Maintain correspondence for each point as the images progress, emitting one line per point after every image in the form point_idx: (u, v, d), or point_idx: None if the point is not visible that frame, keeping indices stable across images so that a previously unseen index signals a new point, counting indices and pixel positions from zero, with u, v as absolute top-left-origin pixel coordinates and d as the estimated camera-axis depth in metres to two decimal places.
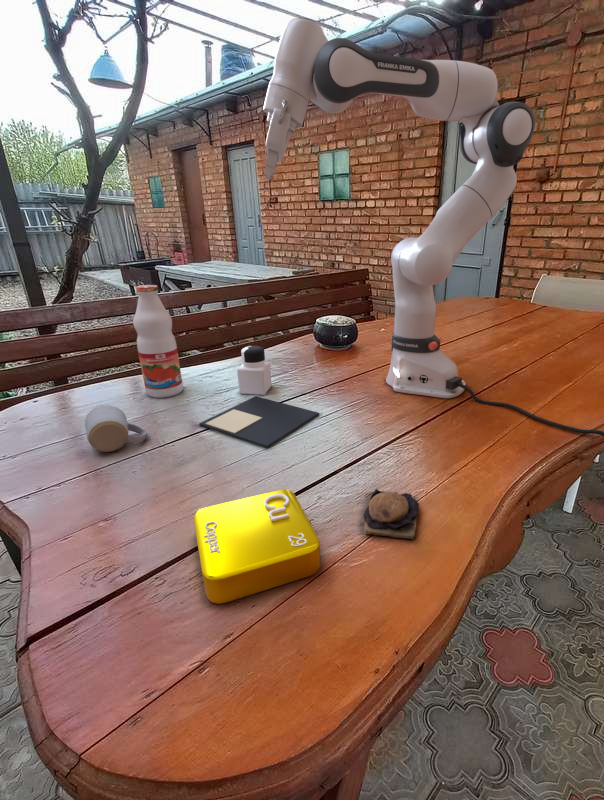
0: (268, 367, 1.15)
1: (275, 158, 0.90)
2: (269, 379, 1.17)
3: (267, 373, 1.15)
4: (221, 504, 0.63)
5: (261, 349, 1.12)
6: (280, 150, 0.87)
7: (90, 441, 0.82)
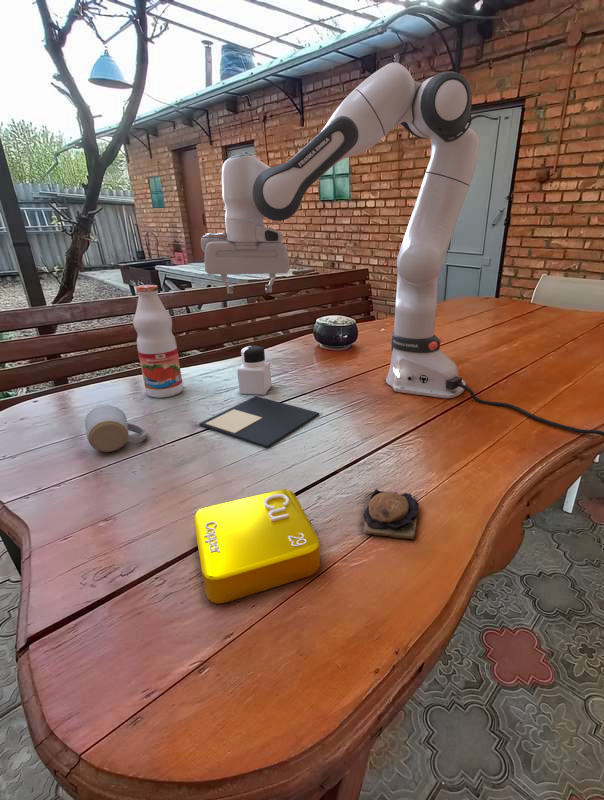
0: (268, 367, 1.15)
1: None
2: (269, 379, 1.17)
3: (267, 373, 1.15)
4: (221, 504, 0.63)
5: (261, 349, 1.12)
6: (208, 273, 1.01)
7: (90, 441, 0.82)
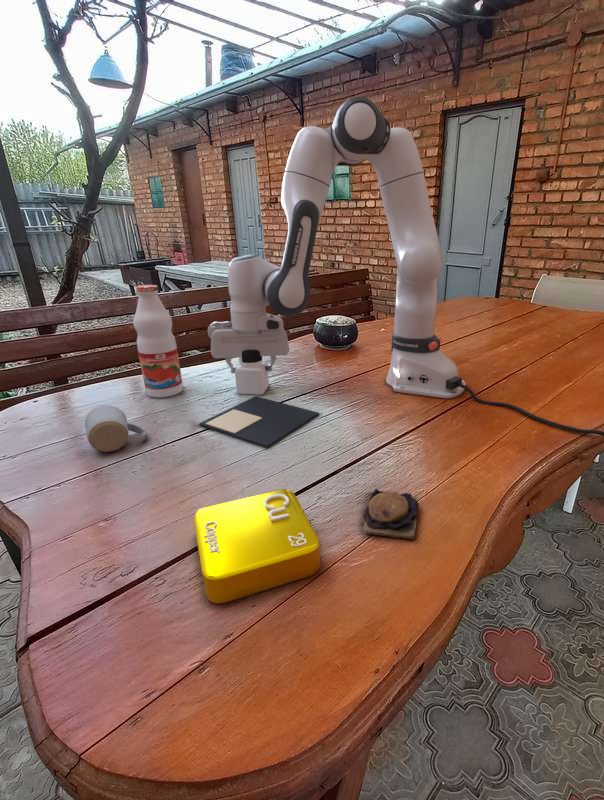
0: (265, 367, 1.15)
1: None
2: (266, 379, 1.17)
3: (265, 373, 1.15)
4: (221, 504, 0.63)
5: None
6: (214, 357, 1.10)
7: (90, 441, 0.82)
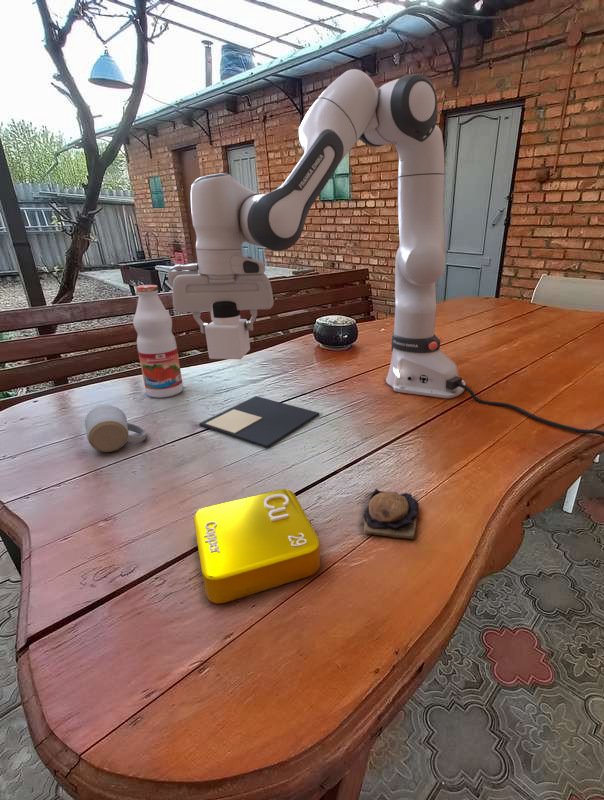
0: (245, 325, 0.92)
1: None
2: (246, 341, 0.93)
3: (244, 333, 0.91)
4: (221, 504, 0.63)
5: None
6: (177, 311, 0.86)
7: (90, 441, 0.82)
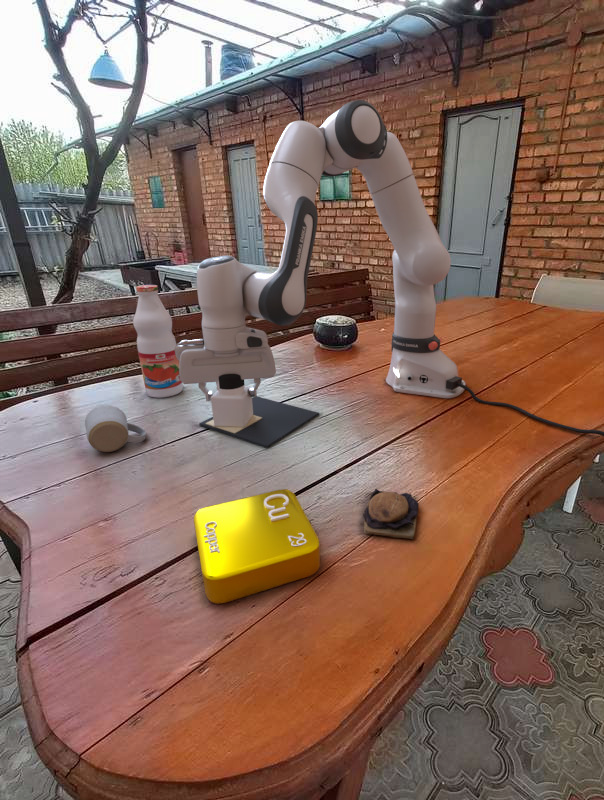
0: (249, 393, 0.96)
1: None
2: (250, 407, 0.97)
3: (247, 401, 0.95)
4: (221, 504, 0.63)
5: None
6: None
7: (90, 441, 0.82)
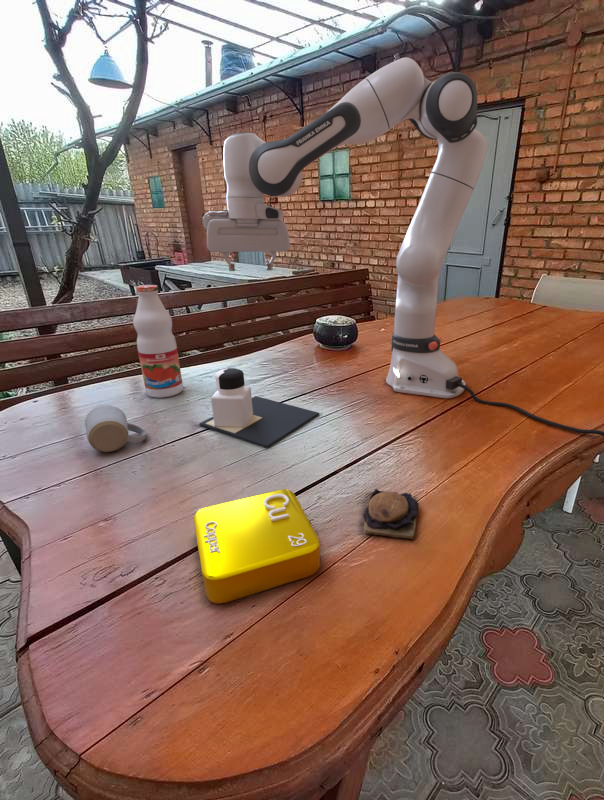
0: (249, 393, 0.96)
1: (223, 256, 1.05)
2: (250, 407, 0.97)
3: (248, 401, 0.95)
4: (221, 504, 0.63)
5: (240, 372, 0.92)
6: (210, 251, 1.03)
7: (90, 441, 0.82)
